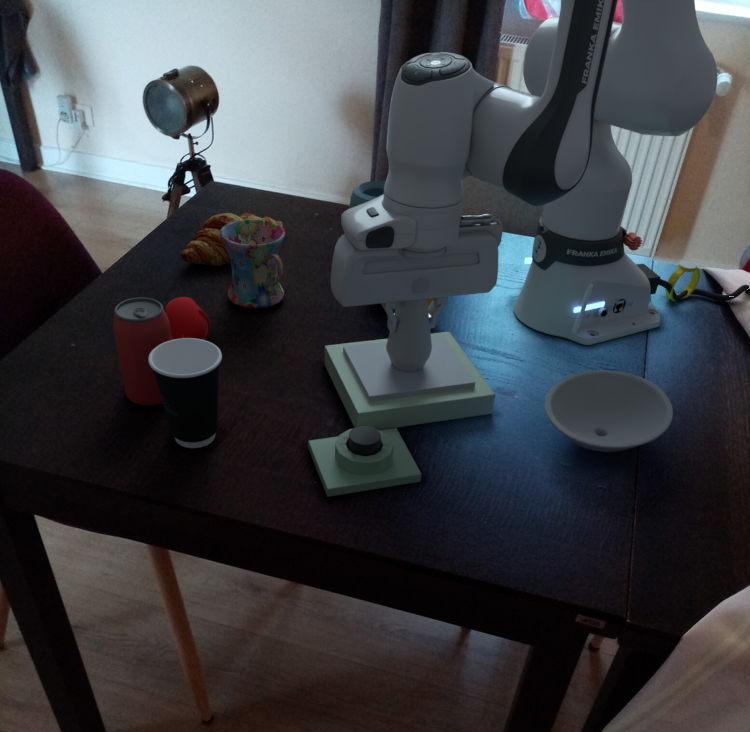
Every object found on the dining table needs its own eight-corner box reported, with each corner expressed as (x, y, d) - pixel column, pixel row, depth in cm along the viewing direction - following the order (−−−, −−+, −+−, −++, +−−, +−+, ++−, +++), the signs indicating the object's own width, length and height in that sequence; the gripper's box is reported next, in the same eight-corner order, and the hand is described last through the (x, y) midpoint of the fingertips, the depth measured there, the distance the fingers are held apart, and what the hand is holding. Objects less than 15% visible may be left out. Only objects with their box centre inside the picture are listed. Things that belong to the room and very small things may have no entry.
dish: (616, 499, 89) (628, 465, 85) (511, 443, 95) (518, 410, 92) (683, 433, 99) (696, 401, 96) (584, 387, 106) (593, 355, 102)
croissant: (270, 248, 141) (254, 203, 138) (306, 238, 134) (290, 190, 131) (176, 283, 128) (156, 234, 125) (210, 274, 121) (190, 221, 118)
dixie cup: (147, 445, 91) (133, 364, 84) (183, 410, 97) (173, 331, 90) (207, 463, 90) (198, 382, 82) (240, 426, 95) (234, 347, 88)
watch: (683, 291, 129) (695, 257, 125) (696, 298, 127) (709, 264, 123) (657, 298, 127) (669, 263, 123) (670, 306, 125) (682, 271, 121)
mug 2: (410, 273, 129) (415, 213, 122) (343, 269, 129) (345, 209, 122) (408, 235, 140) (413, 179, 134) (347, 232, 140) (349, 175, 133)
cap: (219, 350, 108) (216, 310, 104) (177, 359, 106) (172, 320, 102) (198, 323, 113) (194, 285, 109) (158, 332, 111) (152, 293, 107)
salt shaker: (426, 379, 98) (436, 282, 90) (381, 372, 99) (387, 275, 90) (432, 355, 103) (443, 261, 94) (389, 348, 103) (397, 255, 95)
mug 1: (214, 295, 120) (207, 227, 113) (265, 280, 124) (262, 214, 117) (256, 327, 113) (252, 258, 106) (309, 310, 118) (308, 242, 111)
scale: (446, 350, 111) (450, 326, 109) (492, 413, 100) (496, 389, 97) (324, 364, 107) (324, 340, 104) (357, 433, 95) (358, 407, 93)
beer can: (133, 413, 96) (117, 326, 88) (120, 386, 100) (103, 300, 92) (186, 401, 98) (174, 315, 91) (170, 375, 103) (158, 291, 95)
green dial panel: (395, 435, 95) (397, 415, 93) (420, 481, 89) (423, 461, 87) (308, 448, 93) (307, 428, 91) (327, 497, 86) (327, 476, 84)
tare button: (374, 435, 91) (375, 423, 90) (384, 454, 88) (385, 442, 87) (344, 440, 90) (345, 427, 89) (353, 459, 87) (354, 446, 86)
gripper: (494, 202, 93) (477, 308, 102) (327, 213, 88) (326, 324, 97) (516, 223, 89) (497, 332, 98) (342, 236, 83) (339, 350, 93)
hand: (410, 328), depth 97 cm, fingers closed on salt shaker, 3 cm apart
